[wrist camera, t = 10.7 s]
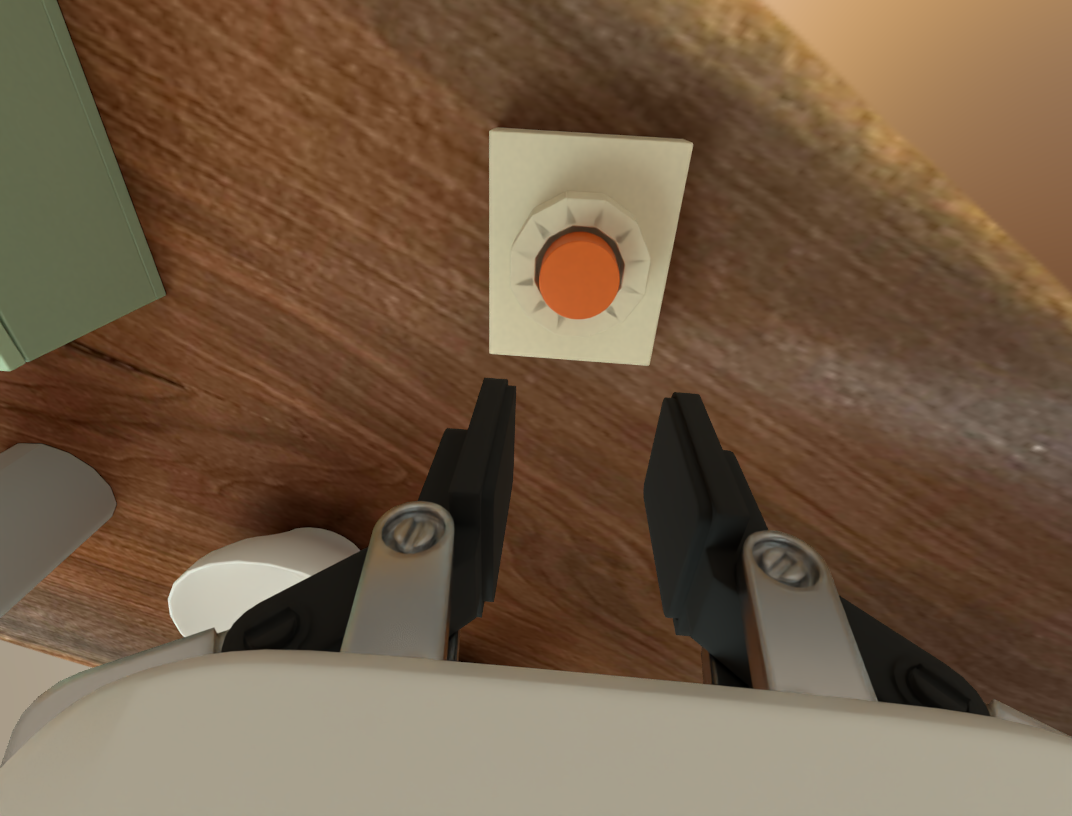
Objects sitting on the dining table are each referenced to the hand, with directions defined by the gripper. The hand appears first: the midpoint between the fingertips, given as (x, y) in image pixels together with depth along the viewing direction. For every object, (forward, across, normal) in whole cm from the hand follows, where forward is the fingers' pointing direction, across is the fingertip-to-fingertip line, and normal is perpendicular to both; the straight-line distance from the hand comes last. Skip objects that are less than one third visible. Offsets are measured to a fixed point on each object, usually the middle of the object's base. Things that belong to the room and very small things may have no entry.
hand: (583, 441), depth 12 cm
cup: (+17, +39, +21) cm, 48 cm away
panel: (+17, 0, 0) cm, 17 cm away
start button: (+14, 0, 0) cm, 14 cm away
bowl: (+17, +19, +27) cm, 37 cm away
